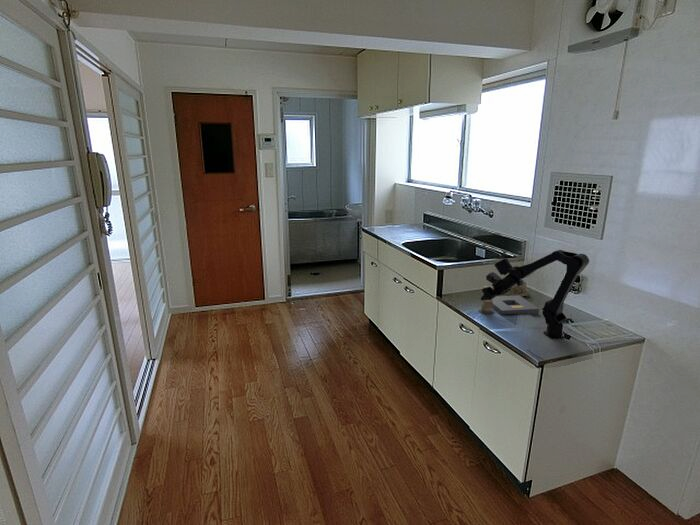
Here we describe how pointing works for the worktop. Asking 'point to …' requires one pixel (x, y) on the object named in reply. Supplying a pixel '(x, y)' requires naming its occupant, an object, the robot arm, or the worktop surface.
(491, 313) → the pad
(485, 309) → the beech peg
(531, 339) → the worktop surface
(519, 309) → the hole plate
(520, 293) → the ceramic model
